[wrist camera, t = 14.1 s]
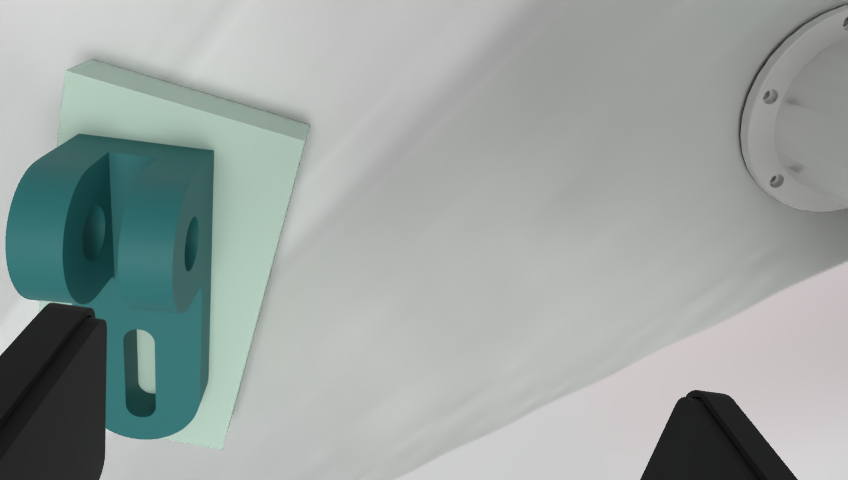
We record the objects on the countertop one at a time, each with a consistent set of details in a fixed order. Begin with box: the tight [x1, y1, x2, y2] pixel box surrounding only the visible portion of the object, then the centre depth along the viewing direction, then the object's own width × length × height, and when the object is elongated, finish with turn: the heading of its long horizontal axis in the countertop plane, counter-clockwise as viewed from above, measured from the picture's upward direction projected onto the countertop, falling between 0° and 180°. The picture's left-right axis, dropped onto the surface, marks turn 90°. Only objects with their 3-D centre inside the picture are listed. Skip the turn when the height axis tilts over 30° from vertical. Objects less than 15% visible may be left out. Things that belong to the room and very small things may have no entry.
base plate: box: [39, 59, 310, 450], centre depth 38 cm, size 12×22×4 cm, turn 161°
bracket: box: [6, 134, 214, 439], centre depth 33 cm, size 18×7×8 cm, turn 171°
